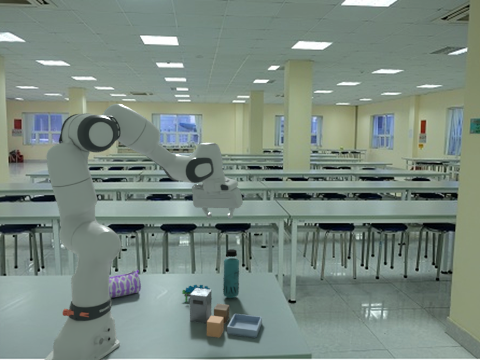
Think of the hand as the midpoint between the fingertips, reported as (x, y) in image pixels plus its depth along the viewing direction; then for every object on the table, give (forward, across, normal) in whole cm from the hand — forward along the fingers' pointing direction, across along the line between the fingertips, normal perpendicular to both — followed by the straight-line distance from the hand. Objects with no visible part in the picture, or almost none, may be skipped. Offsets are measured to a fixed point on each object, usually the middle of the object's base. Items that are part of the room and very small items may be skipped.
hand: (219, 217), depth 154 cm
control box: (+30, -1, -23) cm, 38 cm away
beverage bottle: (+34, +1, -2) cm, 34 cm away
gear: (+32, -11, -10) cm, 35 cm away
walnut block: (+31, +6, -20) cm, 38 cm away
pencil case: (+27, -42, -22) cm, 55 cm away
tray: (+31, +16, -23) cm, 42 cm away
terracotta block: (+29, +8, -30) cm, 43 cm away
